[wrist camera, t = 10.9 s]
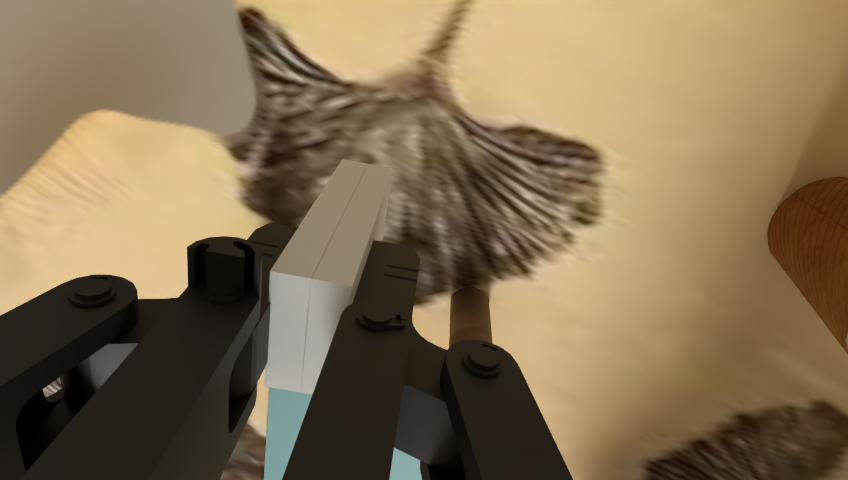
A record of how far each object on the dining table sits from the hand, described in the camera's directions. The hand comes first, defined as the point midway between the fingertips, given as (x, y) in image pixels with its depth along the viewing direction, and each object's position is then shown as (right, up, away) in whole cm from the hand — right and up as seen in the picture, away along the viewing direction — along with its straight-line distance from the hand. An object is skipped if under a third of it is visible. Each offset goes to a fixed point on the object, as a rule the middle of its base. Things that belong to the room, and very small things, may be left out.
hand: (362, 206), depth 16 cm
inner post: (+5, -5, +21) cm, 22 cm away
